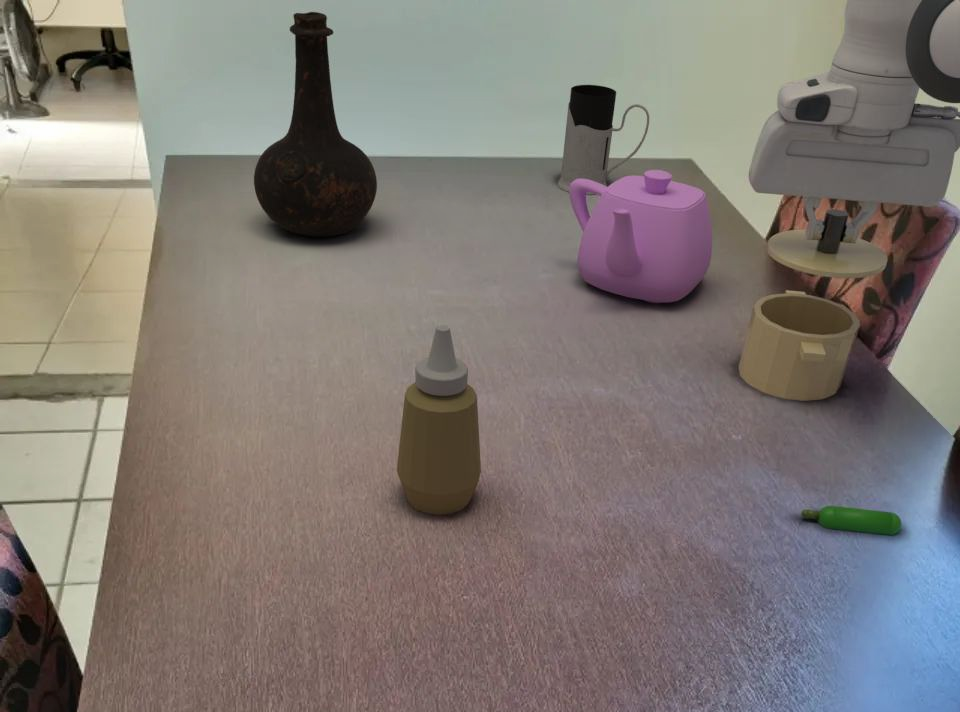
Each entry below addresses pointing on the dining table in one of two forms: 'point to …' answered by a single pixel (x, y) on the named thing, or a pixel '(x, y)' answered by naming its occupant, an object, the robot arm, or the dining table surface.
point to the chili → (856, 520)
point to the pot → (798, 346)
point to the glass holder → (590, 135)
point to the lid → (827, 251)
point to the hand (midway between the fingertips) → (829, 239)
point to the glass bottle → (314, 151)
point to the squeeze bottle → (439, 433)
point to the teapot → (643, 236)
